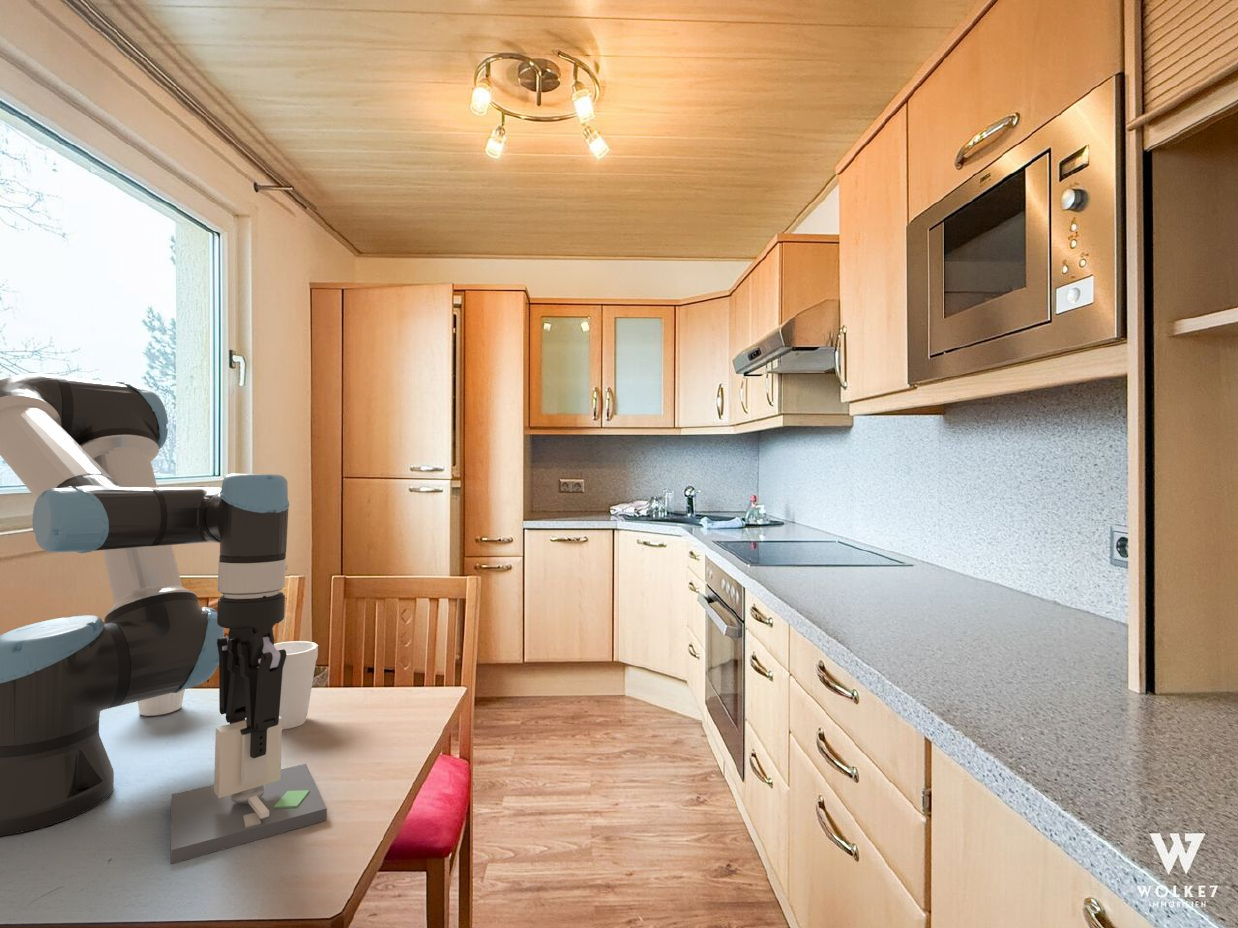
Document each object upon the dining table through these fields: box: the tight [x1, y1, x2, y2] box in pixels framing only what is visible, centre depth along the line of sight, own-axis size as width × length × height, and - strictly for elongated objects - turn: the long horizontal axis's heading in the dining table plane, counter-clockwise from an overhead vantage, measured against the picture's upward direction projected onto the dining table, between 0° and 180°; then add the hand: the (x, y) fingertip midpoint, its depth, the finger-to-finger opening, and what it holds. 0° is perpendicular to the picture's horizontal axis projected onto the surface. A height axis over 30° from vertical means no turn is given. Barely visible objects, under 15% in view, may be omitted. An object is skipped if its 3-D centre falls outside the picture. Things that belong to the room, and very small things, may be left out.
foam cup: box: [274, 640, 319, 730], centre depth 111 cm, size 10×9×13 cm
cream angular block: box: [213, 716, 283, 819], centre depth 79 cm, size 7×9×10 cm
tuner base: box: [170, 763, 328, 864], centre depth 81 cm, size 16×15×2 cm
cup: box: [137, 689, 186, 717], centre depth 115 cm, size 10×10×13 cm
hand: (246, 776), depth 81 cm, fingers closed on cream angular block, 3 cm apart
